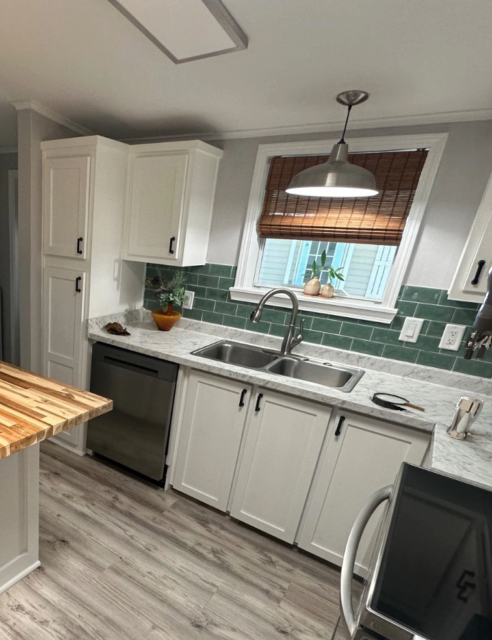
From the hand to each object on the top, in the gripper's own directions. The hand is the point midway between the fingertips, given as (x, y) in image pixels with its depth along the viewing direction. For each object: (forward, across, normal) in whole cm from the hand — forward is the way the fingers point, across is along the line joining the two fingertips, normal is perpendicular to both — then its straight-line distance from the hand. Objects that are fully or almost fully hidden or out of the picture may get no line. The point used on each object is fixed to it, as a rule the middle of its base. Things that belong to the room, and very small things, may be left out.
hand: (473, 358), depth 158 cm
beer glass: (+26, -16, -10) cm, 32 cm away
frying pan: (+26, -11, +14) cm, 32 cm away
